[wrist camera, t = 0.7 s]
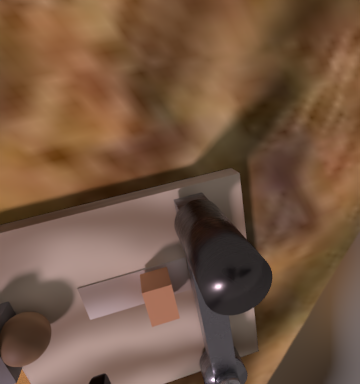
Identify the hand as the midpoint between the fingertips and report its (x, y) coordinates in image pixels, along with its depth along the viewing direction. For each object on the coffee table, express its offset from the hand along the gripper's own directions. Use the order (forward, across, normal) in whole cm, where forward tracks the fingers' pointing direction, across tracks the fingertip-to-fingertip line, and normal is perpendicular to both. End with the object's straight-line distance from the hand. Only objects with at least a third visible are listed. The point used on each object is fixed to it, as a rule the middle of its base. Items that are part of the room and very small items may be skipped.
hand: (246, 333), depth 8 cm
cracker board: (+12, +5, +8) cm, 15 cm away
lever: (+10, -1, +8) cm, 13 cm away
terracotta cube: (+10, +3, +6) cm, 12 cm away
